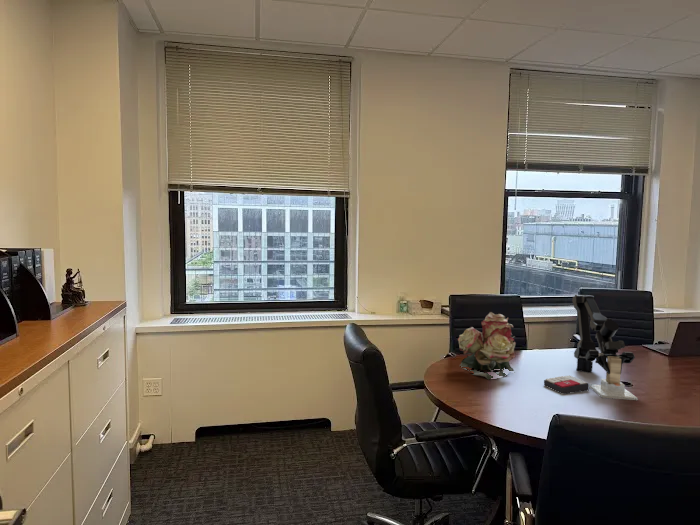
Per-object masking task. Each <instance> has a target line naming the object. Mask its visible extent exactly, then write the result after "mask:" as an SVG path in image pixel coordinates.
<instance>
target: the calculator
mask: <svg viewBox="0 0 700 525" xmlns="http://www.w3.org/2000/svg"><path fill="white" fill-rule="evenodd" d="M544 385H545V386H544ZM543 386H544V387H546V386H548V387H550V388H552V389H554V390H553V391H555V390H556V391H555V392H557V391H559V392H561V393H566V394H571V393H570V392H574V393H579V392H581V391H582V392H588V391H589V388H590V387H589V383H588V382H587V381H584V380H583V379H579V378H577V377H576V376H575V377H574V376H572V375H563V376H556V377H555V376H554V377H550V378H546V379H544V380H543ZM548 387H547V388H548ZM550 388H549V389H550ZM552 389H551V390H552ZM587 390H588V391H587ZM559 392H558V393H559ZM561 393H560V394H561Z"/></svg>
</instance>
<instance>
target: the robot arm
mask: <svg viewBox="0 0 700 525" xmlns="http://www.w3.org/2000/svg"><path fill="white" fill-rule="evenodd" d="M595 298H596V297H595V295H590V294H589V295H588V294H575V295H574V296H572V301H571V302H572V304H573V308H574V309H575V310H576V312H577V318H578V328H579V339H580V340H579V341H578V342H577V347H576V349H575V350H574V352H573V355H574V358H575V359H576V361H577V362H576V363H577V364H576V371H578V372H584V373H592V371H593V362H594V363H595V364H598V365H599V366H600V367H601V368H602V369H604V370H603V371H605V372H607V373H608V374H610V370H609V367H608V364H607V356H615V357H619V358H620V359H621V371H622V369H623V364H631V363H632V362H633V360H634V359H636V357H635V353H633V352H632V351H623V352H622V353H621V354H618V353H619V350H622V349H624V348H626V347H625V346H626V345H625V342H624V340H618V341H615V340H614V341H613V339H612V337H614V336H615V334H616V332H618V330H619V328H620V327H619V326H620V325H619V324H618V323H617V322H616V321H614V320H613V319H612V318H607V317H606V316H605V315H604V314H602V313H601V310H600V308H599V307H598V304H597V302H596V300H595ZM589 320H590V321H589ZM591 331H596V333H595V339H596V341H597V343H598V347H597V348H598V350H597V348H596V342H595V341H593V340H592V338H591ZM599 350H600V352H599ZM621 375H622V373H621V374H620V376H621Z"/></svg>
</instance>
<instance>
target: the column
mask: <svg viewBox="0 0 700 525" xmlns="http://www.w3.org/2000/svg"><path fill="white" fill-rule="evenodd" d="M606 360H607V364H608V367H609V370H610V374H608V373H607V372H606V371H605V372H606V373H605V374H606V375H605V379H606V381H607V382H608V383H611V384H614V383H618V384H620V382H621V375H622V370H621V359H620V358H619V357H615V356H607V358H606ZM620 374H621V375H620Z"/></svg>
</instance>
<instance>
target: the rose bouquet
mask: <svg viewBox="0 0 700 525" xmlns="http://www.w3.org/2000/svg"><path fill="white" fill-rule="evenodd" d="M508 320H509V317H507V318H506V316H505V315H503V314H501V313H498V314H497V313H496V314H495V313H494V312H493V311H489V313H488V314H487V315H486V316H485V318H484V319H483V320H482V321H481V322H480V323H481V327H482V332H481V331H479V330H477V329H476V328H474V327H473V326H470V327H469V328H466V329H465V330H463V333H462V334H459V337H458V338H457V341H458V345H459V351H461V352H463V355H466V354H467V357H464V358H463V359H462V360H461V362H460V364H459V367H460V366H461V367H460V368H462V367H469V368H474V370H470V371H473V372H474V374H472V375H473V376H481V377H485V378H486V379H487V380H489V379H491V378H493V376H491V375H489V374H488V373H484V372H485V371H484V372H480V371H481V370H490V371H489V372H491V370H494V369H500V372H496V374H497V375H499V376H505V375H506V374H505V373H503V372H501V371H502V370H501V369H503V370H504V368H505V369H508V370H509V371H515V370H514V368H513V367H512V366H511V364H510V362H511V361H512V360H513V359H515V358H516V355H515V348H516V344H517V342H516V341H515V338H516V336H515V335H513V334H512V328H514V325H513V324H511V323H509V322H508ZM469 354H470V355H469ZM478 369H481V370H479V371H477V370H478ZM465 370H467V369H466V368H465ZM467 371H468V370H467ZM470 371H469V372H470Z"/></svg>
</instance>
